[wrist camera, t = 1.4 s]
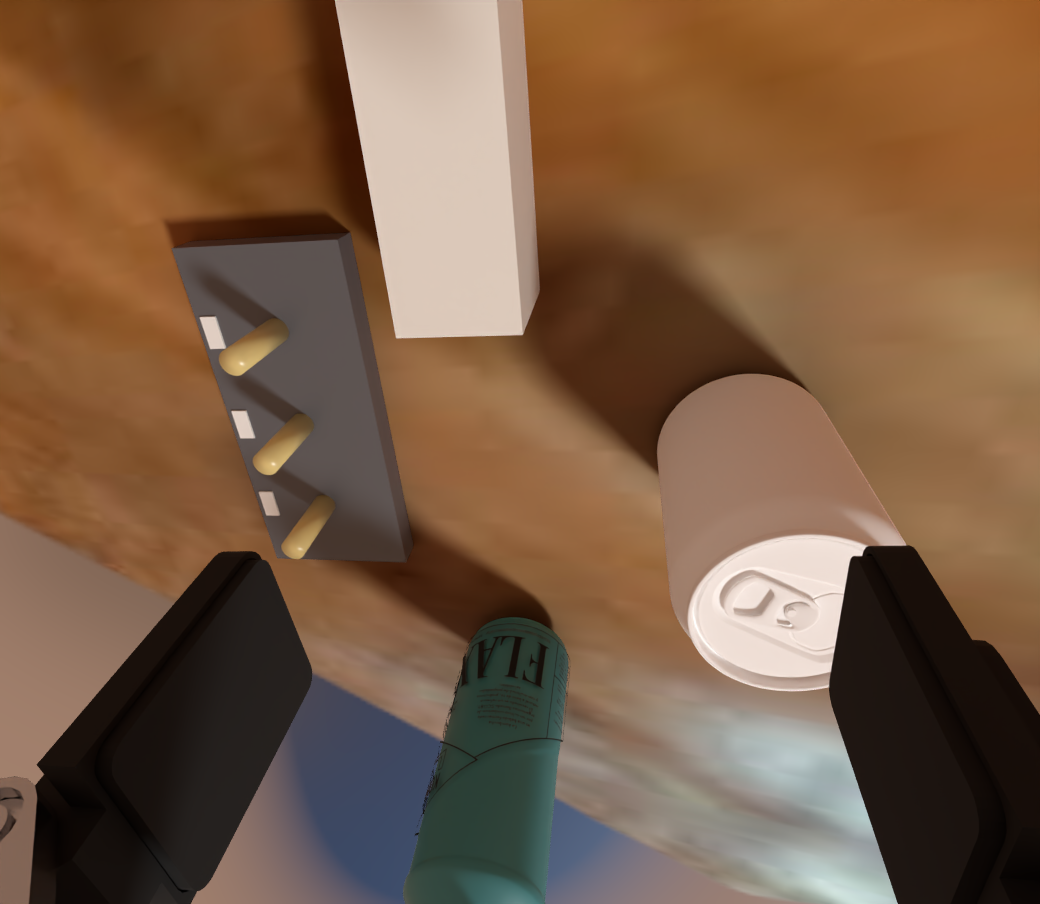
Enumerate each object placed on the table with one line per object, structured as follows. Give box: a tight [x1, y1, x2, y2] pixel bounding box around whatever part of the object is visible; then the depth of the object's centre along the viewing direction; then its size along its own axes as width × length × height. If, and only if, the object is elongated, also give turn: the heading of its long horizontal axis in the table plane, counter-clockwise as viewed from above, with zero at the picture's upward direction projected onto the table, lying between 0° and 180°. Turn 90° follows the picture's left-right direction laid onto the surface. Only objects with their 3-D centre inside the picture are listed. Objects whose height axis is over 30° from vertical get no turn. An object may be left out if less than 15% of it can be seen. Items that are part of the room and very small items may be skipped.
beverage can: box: [657, 374, 906, 691], centre depth 26 cm, size 8×8×12 cm
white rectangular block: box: [335, 0, 540, 338], centre depth 23 cm, size 14×5×6 cm, turn 4°
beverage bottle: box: [403, 617, 570, 904], centre depth 32 cm, size 6×7×20 cm
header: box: [172, 233, 413, 562], centre depth 31 cm, size 18×8×6 cm, turn 4°
